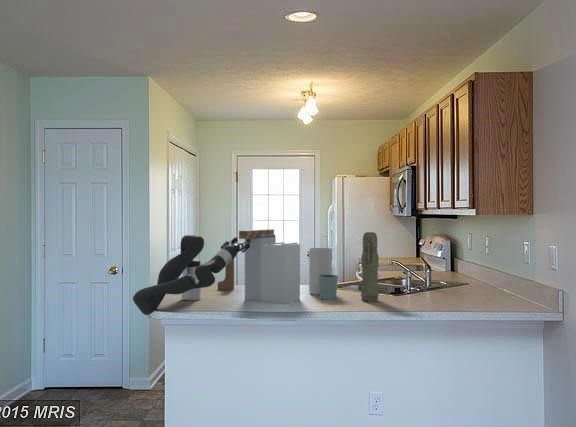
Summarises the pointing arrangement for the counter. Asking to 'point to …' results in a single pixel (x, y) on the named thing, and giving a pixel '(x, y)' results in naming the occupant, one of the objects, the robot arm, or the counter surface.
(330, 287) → the teal cup
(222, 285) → the wooden block
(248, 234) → the walnut bar
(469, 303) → the counter surface
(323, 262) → the cylinder vase
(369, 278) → the thermos
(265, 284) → the stand
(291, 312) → the counter surface
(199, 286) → the robot arm
